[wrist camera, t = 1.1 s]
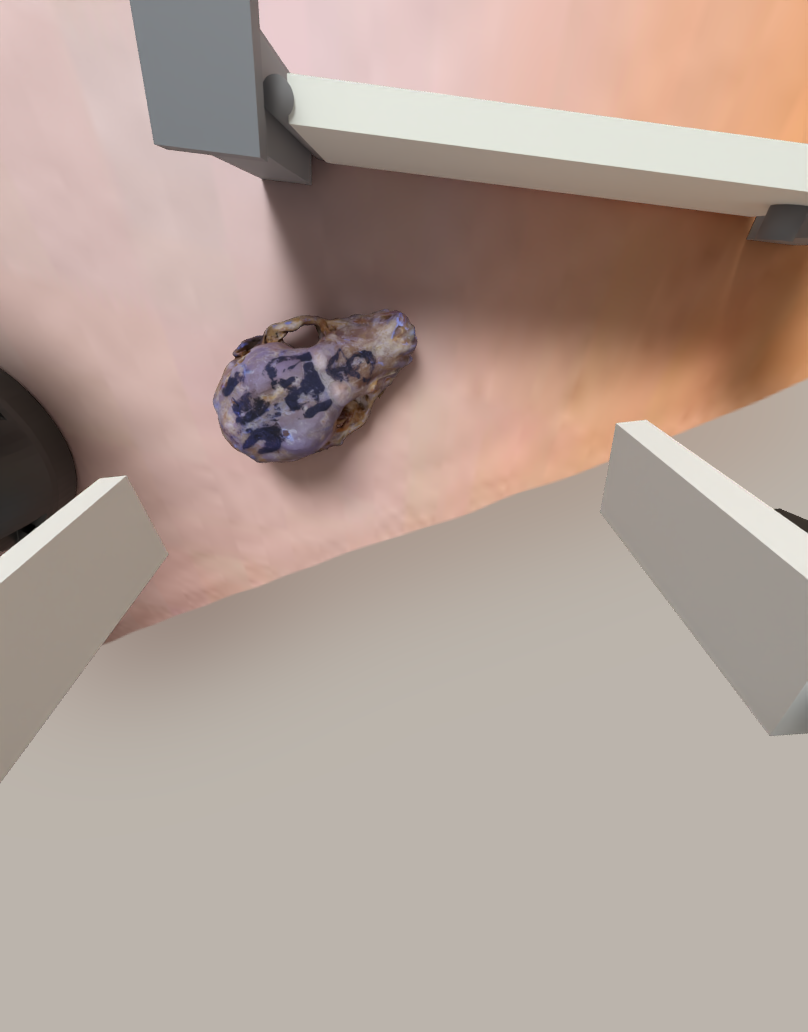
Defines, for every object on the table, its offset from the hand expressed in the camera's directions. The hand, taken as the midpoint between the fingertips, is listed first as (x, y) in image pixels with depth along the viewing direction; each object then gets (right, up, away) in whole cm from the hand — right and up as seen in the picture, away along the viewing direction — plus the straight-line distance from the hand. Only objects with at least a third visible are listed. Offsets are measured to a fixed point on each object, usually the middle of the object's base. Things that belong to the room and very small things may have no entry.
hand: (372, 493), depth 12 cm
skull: (-4, +8, +15) cm, 17 cm away
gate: (+7, +16, +9) cm, 20 cm away
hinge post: (-5, +17, +8) cm, 20 cm away
